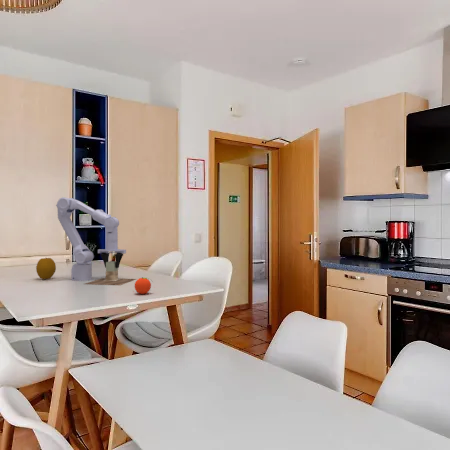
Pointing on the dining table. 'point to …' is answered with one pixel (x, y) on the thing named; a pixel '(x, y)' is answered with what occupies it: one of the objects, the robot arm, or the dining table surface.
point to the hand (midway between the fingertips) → (112, 267)
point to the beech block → (111, 275)
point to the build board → (110, 281)
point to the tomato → (142, 285)
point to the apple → (45, 268)
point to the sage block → (111, 266)
